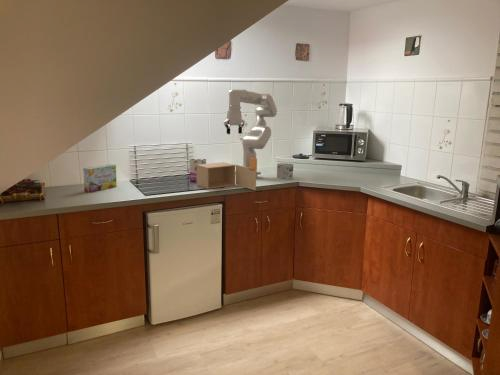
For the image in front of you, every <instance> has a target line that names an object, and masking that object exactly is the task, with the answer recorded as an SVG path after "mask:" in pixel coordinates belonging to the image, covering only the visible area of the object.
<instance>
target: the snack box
mask: <svg viewBox="0 0 500 375" xmlns="http://www.w3.org/2000/svg"><path fill="white" fill-rule="evenodd" d="M82 173H83V185H84V188H83V190H84V192H86V193H93V192H94V193H95V192H98V191H103V190H104V191H105V190H108V189H113V188H114V189H115V188H117V165H116V164H112V163H109V164H108V163H107V164H103V165H102V164H101V165H97V166H96V165H95V166H90V167H89V166H88V167H84V168H83V172H82Z"/></svg>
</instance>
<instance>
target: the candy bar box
mask: <svg viewBox="0 0 500 375" xmlns="http://www.w3.org/2000/svg"><path fill="white" fill-rule="evenodd" d="M200 164H207V158H198V157H197V158H196V157H191V158H189V181H190V182H192V183H197V165H200Z"/></svg>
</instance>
